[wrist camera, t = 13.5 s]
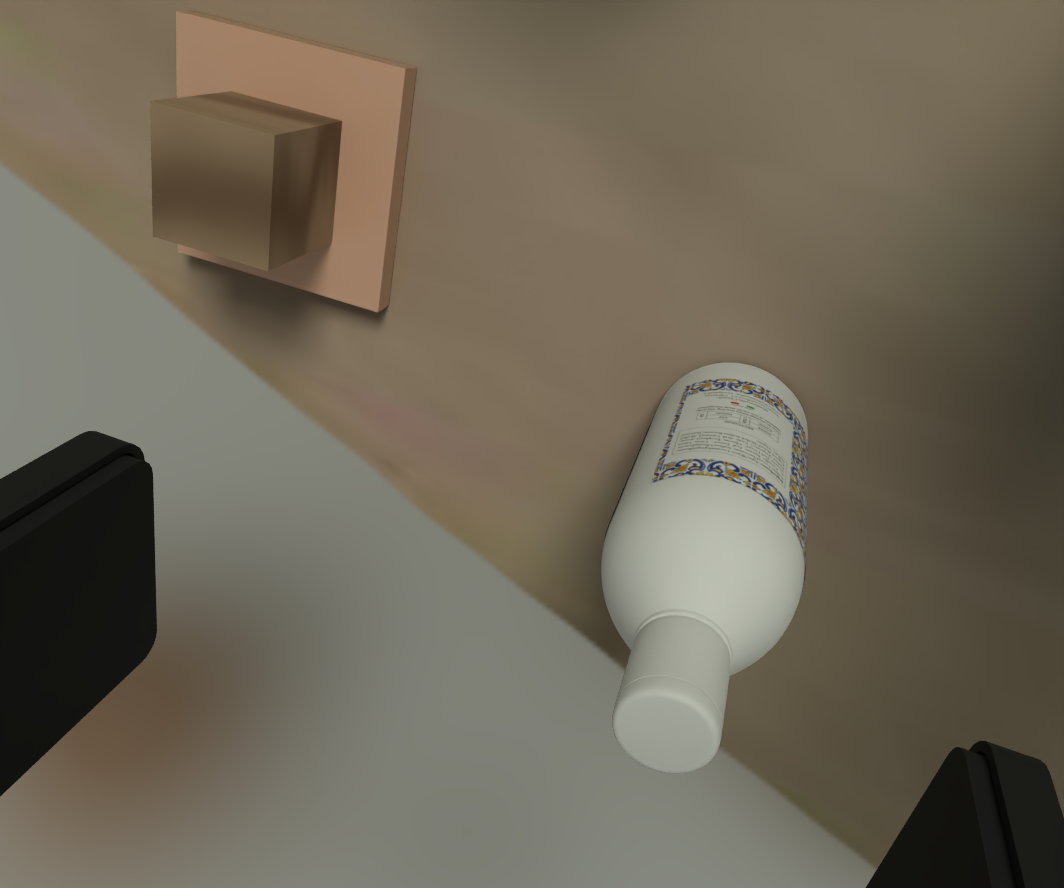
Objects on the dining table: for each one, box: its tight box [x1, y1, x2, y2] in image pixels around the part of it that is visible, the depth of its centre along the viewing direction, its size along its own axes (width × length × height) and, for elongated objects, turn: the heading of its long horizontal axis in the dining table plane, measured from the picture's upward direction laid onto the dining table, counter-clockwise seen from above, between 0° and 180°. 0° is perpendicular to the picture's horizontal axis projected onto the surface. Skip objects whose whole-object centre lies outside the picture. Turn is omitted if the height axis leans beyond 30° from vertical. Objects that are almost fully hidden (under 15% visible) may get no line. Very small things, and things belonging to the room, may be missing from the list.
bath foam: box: [601, 363, 808, 774], centre depth 32 cm, size 7×7×20 cm
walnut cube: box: [150, 91, 342, 271], centre depth 37 cm, size 6×6×6 cm
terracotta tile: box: [176, 11, 417, 312], centre depth 40 cm, size 11×11×1 cm
